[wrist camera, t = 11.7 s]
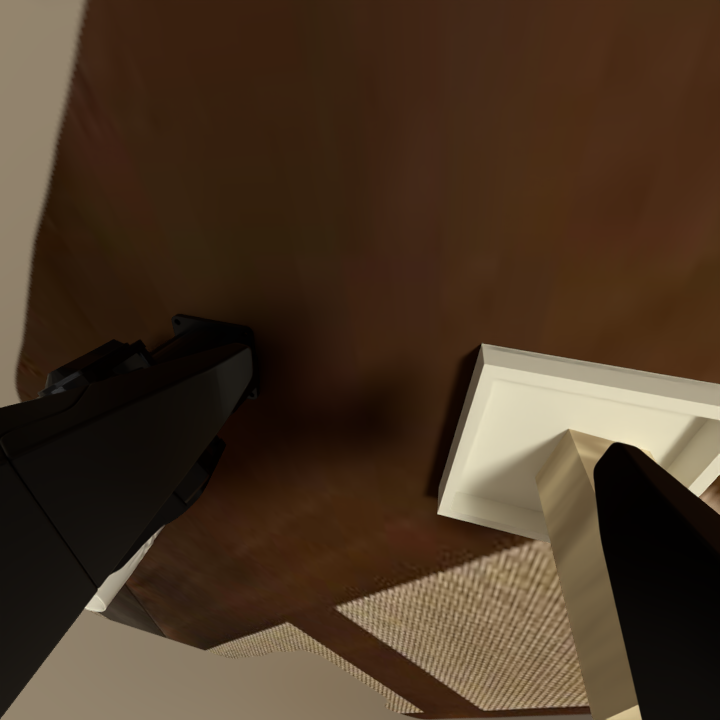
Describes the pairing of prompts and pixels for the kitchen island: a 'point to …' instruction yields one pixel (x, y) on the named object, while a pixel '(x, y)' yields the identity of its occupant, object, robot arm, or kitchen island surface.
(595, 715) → the maple block
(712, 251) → the kitchen island surface
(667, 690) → the robot arm
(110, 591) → the white cup
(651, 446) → the tray
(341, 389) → the kitchen island surface
